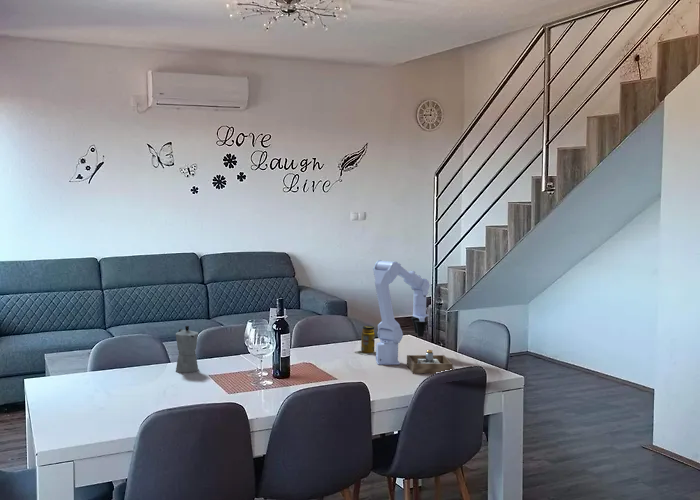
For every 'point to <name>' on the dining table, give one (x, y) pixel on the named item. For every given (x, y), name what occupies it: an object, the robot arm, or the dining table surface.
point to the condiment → (367, 341)
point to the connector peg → (429, 356)
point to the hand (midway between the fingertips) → (418, 334)
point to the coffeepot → (186, 351)
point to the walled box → (428, 364)
